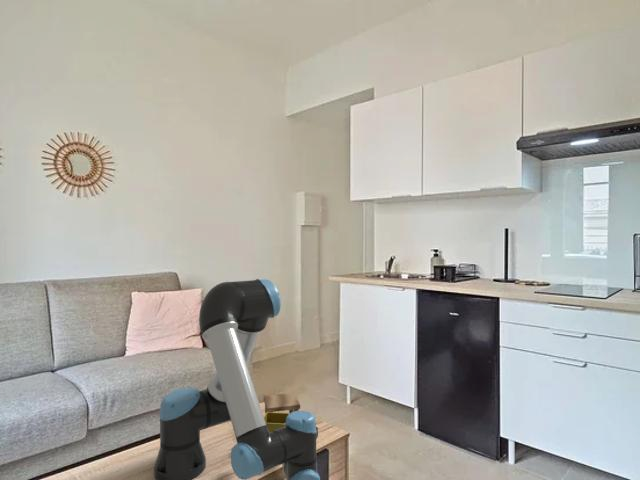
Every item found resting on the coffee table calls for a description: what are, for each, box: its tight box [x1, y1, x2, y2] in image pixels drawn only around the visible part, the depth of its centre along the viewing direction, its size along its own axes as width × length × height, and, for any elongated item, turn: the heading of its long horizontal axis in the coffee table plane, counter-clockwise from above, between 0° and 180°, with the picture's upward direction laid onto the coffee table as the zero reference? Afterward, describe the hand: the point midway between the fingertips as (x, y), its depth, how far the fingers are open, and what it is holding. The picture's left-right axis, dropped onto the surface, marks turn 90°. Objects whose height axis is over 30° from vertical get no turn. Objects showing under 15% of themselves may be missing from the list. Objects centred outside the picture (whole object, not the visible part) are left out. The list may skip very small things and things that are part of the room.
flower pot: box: [263, 411, 290, 432], centre depth 142 cm, size 9×9×9 cm
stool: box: [263, 392, 301, 415], centre depth 155 cm, size 12×12×10 cm
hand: (281, 425), depth 132 cm, fingers open, 13 cm apart
